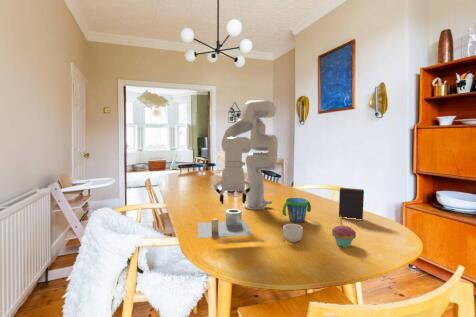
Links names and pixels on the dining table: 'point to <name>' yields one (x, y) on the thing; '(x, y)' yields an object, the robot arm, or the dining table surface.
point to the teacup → (292, 232)
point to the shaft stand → (221, 229)
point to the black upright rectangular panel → (351, 203)
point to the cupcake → (343, 234)
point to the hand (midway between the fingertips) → (233, 203)
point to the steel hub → (233, 217)
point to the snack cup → (296, 209)
